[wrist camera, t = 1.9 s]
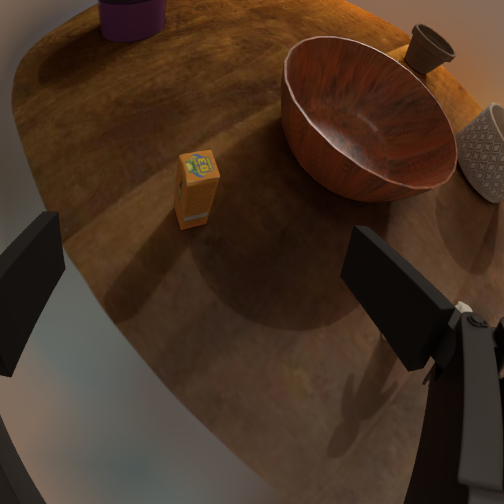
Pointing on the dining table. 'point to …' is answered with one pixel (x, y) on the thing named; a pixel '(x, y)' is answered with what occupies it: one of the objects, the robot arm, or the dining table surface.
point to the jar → (131, 19)
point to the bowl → (363, 122)
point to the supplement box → (195, 188)
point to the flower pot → (427, 50)
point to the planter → (484, 153)
